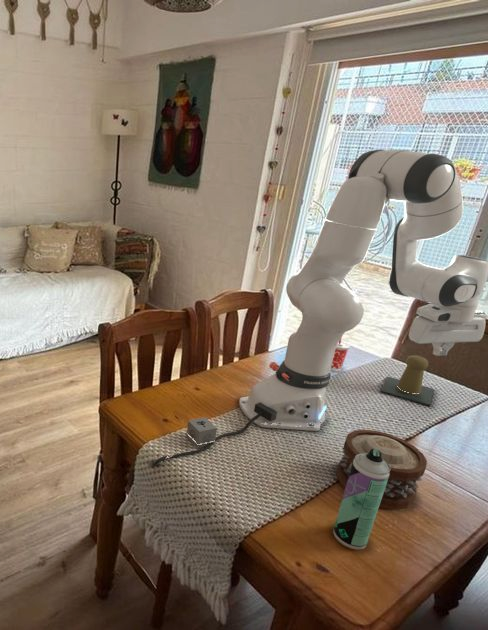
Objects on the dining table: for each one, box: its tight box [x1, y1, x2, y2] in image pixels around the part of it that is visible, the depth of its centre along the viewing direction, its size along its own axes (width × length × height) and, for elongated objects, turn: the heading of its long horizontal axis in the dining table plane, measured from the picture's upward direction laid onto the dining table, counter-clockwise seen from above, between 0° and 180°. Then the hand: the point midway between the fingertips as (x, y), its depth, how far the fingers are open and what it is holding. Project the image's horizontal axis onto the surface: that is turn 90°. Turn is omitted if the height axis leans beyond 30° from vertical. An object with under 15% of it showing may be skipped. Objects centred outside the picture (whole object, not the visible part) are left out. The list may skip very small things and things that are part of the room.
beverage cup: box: [330, 336, 351, 372], centre depth 146 cm, size 6×6×14 cm
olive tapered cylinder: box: [396, 355, 429, 395], centre depth 132 cm, size 6×6×11 cm
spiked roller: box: [336, 429, 428, 510], centre depth 95 cm, size 15×11×15 cm
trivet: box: [380, 376, 435, 407], centre depth 134 cm, size 12×12×1 cm
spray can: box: [332, 449, 390, 551], centre depth 80 cm, size 6×6×20 cm
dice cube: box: [185, 416, 218, 450], centre depth 111 cm, size 5×5×5 cm
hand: (439, 354), depth 130 cm, fingers closed
